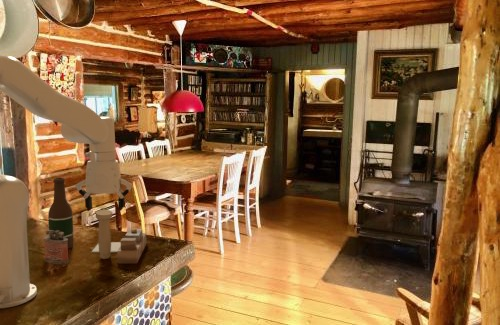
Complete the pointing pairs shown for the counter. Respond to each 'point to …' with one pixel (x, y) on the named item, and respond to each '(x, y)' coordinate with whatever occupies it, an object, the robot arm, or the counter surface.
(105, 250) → the handle
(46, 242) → the lighter
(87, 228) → the counter surface
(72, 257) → the counter surface
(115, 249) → the felt pad
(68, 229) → the brown glass bottle
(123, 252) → the body
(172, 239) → the counter surface
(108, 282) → the counter surface
